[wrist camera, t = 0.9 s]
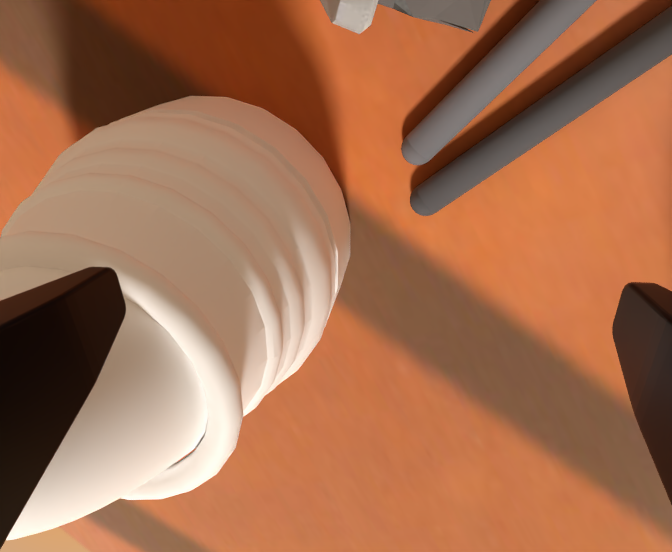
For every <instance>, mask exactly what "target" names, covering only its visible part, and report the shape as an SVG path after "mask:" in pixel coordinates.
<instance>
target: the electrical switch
mask: <svg viewBox="0 0 672 552" xmlns="http://www.w3.org/2000/svg"><path fill="white" fill-rule="evenodd" d="M320 1H321V3H322V5H323V7H324V9H325V11H326V13H327V15H328V16H329V18H330V20H331V22H332V23H333V24H336V25H338V26H341V27H343V28H346V29H348V30H351V31H353V32H356V33H358V34H360V33H361V32H363V31H364V30H365V29H366V28H368V27H369V26H370V25H371V23H372V19H373V16H374V13H375V10H376V6H377V4H381V5H384V6H387V7H390V8H393V9H395V10H398V11H400V12H402V13H405V14H407V15H409V16H412V17H415V18H419V19H423V20H427V21H432V22H436V23H440V24H445V25H449V26H452V27H455V28H459V29H462V30H465V31H469V32H472V31H470V30H468V29H471V30H474V31H477V32H478V30H479V28H480V25H481V23H482V21H483V18H484V16H485V13H486V11H487V8H488V6H489V3H490V1H491V0H320ZM466 28H468V29H466ZM472 33H474V32H472Z"/></svg>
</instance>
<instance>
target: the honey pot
mask: <svg viewBox="0 0 672 552" xmlns="http://www.w3.org/2000/svg"><path fill="white" fill-rule="evenodd" d="M349 258H350V220H349V216H348V212H347V209H346V205H345V201H344V197H343V194H342V190H341V188H340V186H339V185H338V183H337V181H336V179H335V178H334V176H333V174H332V172H331V171H330V169H329V167H328V165H327V163H326V162H325V160H324V158H323V157H322V156H321V155H320V154H319V153H318V152H317V151H316V150H315V148H314V147H313V146H312V145H311V144H310V143H309V142H308V141H307V140H306V139H305V138H304V137H303V136H302V135H301V134H300V133H299V132H298V131H297V130H296V129H295V128H293V127H292V126H290V125H289V124H287V123H285V122H284V121H282V120H281V119H279V118H278V117H276V116H274V115H273V114H271V113H270V112H268V111H267V110H265V109H263V108H260V107H257V106H254V105H251V104H248V103H245V102H242V101H238V100H235V99H232V98H229V97H215V96H188V97H185V98H181V99H178V100H174V101H170V102H167V103H163V104H160V105H157V106H154V107H151V108H149V109H146V110H143V111H141V112H138V113H135V114H133V115H130V116H127V117H125V118H122V119H120V120H118V121H115V122H111V123H110V124H108V125H106V126H102V127H98V128H96V129H94V130H93V131H92V132H90V133H89V134H87V135H86V136H84V137H83V138H82V139H80V140H79V141H77V142H76V143H74V144H73V145H71V146H70V147H69V148H67V149H66V150H65V151H64V152H62V153H61V154H60V155H59V156H58V158H57V159H56V161H55V162H54V164H53V165H52V166H51V168H50V169H49V171H48V172H47V174H46V175H45V177H44V178H43V180H42V181H41V182H40V183H39V185H38V186H37V188H36V189H35V191H34V192H33V194H32V195H31V196H30V197H28V198H27V199H25V200H24V201H22V202H21V203H20V204H19V206H18V207H17V209H16V210H15V212H14V213H13V215H12V216H11V218H10V219H9V221H8V222H7V224H6V225H5V227H4V228H3V230H2V234H1V237H0V301H1V300H3V299H6V298H9V297H11V296H14V295H16V294H19V293H22V292H24V291H27V290H30V289H32V288H35V287H38V286H40V285H43V284H46V283H48V282H51V281H53V280H56V279H59V278H61V277H64V276H67V275H69V274H72V273H75V272H77V271H80V270H83V269H85V268H88V267H110V268H112V269H113V270H115V272H116V274H117V276H118V280H119V283H120V286H121V290H122V293H123V297H124V300H125V304H126V314H125V318H124V320H123V322H122V325H121V327H120V329H119V332H118V334H117V336H116V338H115V341H114V343H113V345H112V348H111V350H110V352H109V354H108V357H107V359H106V361H105V364H104V366H103V368H102V370H101V373H100V375H99V377H98V379H97V381H96V383H95V385H94V387H93V389H92V390H91V392H90V394H89V396H88V398H87V399H86V401H85V403H84V405H83V406H82V408H81V410H80V412H79V413H78V415H77V417H76V418H75V420H74V422H73V424H72V425H71V427H70V429H69V431H68V432H67V434H66V436H65V438H64V439H63V441H62V443H61V445H60V446H59V448H58V450H57V452H56V453H55V455H54V457H53V458H52V460H51V462H50V464H49V465H48V467H47V469H46V471H45V472H44V474H43V476H42V478H41V479H40V481H39V483H38V485H37V486H36V488H35V490H34V492H33V493H32V495H31V497H30V499H29V500H28V502H27V504H26V505H25V507H24V509H23V511H22V512H21V514H20V516H19V518H18V519H17V521H16V523H15V525H14V526H13V528H12V530H11V532H10V533H9V535H8V537H7V539H6V540H11V539H17V538H21V537H25V536H28V535H32V534H35V533H39V532H43V531H46V530H50V529H53V528H56V527H58V526H61V525H64V524H66V523H69V522H72V521H74V520H77V519H79V518H81V517H83V516H85V515H88V514H90V513H92V512H94V511H96V510H98V509H100V508H102V507H104V506H106V505H108V504H110V503H112V502H114V501H115V500H117V499H119V498H122V499H128V500H144V499H163V498H167V497H170V496H174V495H178V494H181V493H185V492H188V491H191V490H193V489H195V488H196V487H198V486H199V485H201V484H202V483H204V482H205V481H207V480H208V479H210V478H211V477H213V476H214V475H216V474H217V473H218V472H219V470H220V469H221V468H222V466H223V465H224V463H225V462H226V461H227V459H228V458H229V456H230V455H231V453H232V452H233V451H234V449H235V448H236V444H237V440H238V436H239V431H240V427H241V423H242V419H243V416H245V415H246V414H248V413H249V412H250V411H252V410H253V409H255V408H256V407H257V406H258V404H259V403H260V401H261V400H262V399H263V397H264V396H265V395H266V394H268V393H269V392H270V391H272V390H273V389H274V388H275V387H276V386H277V385H278V384H280V383H281V382H282V381H284V380H285V379H287V378H288V377H289V376H291V375H292V374H293V373H295V372H296V371H297V370H298V369H299V368H300V366H301V365H302V364H303V363H304V361H305V360H306V358H307V357H308V356H309V354H310V353H311V351H312V350H313V349H314V347H315V346H316V344H317V343H318V342H319V340H320V339H321V336H322V333H323V330H324V327H325V326H326V323H327V319H328V318H329V315H330V313H331V310H332V307H333V305H334V302H335V299H336V297H337V294H338V291H339V289H340V286H341V283H342V280H343V277H344V273H345V270H346V267H347V264H348V261H349ZM196 447H197V448H196ZM195 448H196V450H195V451H193V452H192V453H190V454H189V455H188V456H186V457H185V458H183V459H182V460H181V461H178V460H180V459H181V458H182V457H184V456H185V455H187V454H188V453H189V452H191V451H192V450H193V449H195ZM177 461H178V462H177Z"/></svg>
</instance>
